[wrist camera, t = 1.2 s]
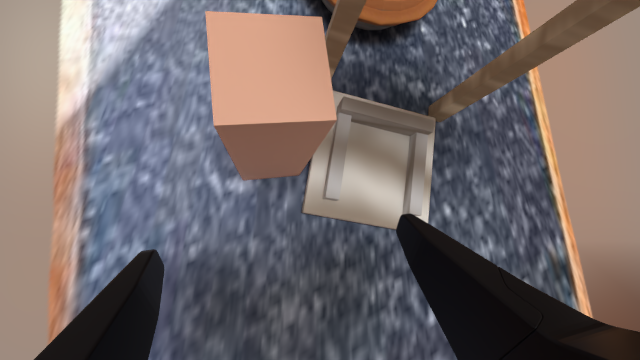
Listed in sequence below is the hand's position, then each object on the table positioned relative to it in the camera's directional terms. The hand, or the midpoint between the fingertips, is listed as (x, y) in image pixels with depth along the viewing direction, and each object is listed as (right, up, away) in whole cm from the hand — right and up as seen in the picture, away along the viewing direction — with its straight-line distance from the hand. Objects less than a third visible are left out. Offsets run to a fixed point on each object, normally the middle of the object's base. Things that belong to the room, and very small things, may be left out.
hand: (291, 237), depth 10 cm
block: (-4, +5, +14) cm, 15 cm away
